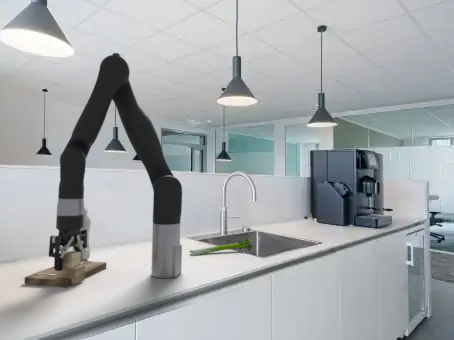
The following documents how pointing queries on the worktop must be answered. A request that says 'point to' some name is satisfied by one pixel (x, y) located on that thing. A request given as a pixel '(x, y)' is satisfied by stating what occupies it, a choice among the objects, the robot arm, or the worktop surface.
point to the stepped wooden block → (72, 267)
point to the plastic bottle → (87, 227)
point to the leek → (224, 247)
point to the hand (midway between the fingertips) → (68, 266)
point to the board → (50, 278)
